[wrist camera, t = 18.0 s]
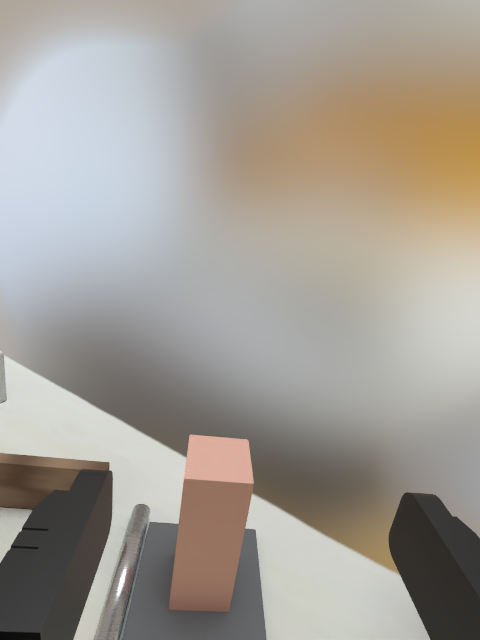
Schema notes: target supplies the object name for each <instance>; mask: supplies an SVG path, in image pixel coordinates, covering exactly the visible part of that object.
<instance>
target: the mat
mask: <svg viewBox="0 0 480 640" xmlns="http://www.w3.org/2000/svg"><path fill="white" fill-rule="evenodd" d="M178 526H179V524H171V523H157V522H150V523H149V528H148V532H147V536H146V540H145V545H144V549H143V553H142V557H141V562H140V566H139V570H138V575H137V579H136V583H135V587H134V592H133V596H132V600H131V604H130V609H129V613H128V617H127V621H126V626H125V630H124V634H123V638H122V640H266V631H265V621H264V611H263V601H262V591H261V581H260V571H259V561H258V551H257V541H256V530H254V529H245V531H244V537H243V542H242V547H241V552H240V557H239V563H238V568H237V573H236V578H235V583H234V588H233V594H232V599H231V604H230V609H229V612H213V611H186V610H169V602H170V594H171V585H172V577H173V569H174V560H175V552H176V543H177V535H178Z"/></svg>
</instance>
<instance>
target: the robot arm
mask: <svg viewBox="0 0 480 640" xmlns="http://www.w3.org/2000/svg"><path fill="white" fill-rule="evenodd" d="M112 482H113V475H112V471H107V470H92V469H81V470H80V472H79V473H78V475H77V477H76V478H75V480H74V482H73V484H72V486H71V488H70V490H69V491H67V490H54V491H53V492H51V493H50V494H49V495H48V496H47V497H46V498H45V499H43V500H42V501H41V502H40V503H39V504H38V505H37V506H35V508H34V509H33V511H32V513H31V514H30V516H29V518H28V519H27V521H26V522H25V524H24V526H23V527H22V531H21V532H19V534H18V535H17V537H16V539H15V540H14V542H13V544H12V545H11V549H10V551H9V550H8V552H7V553H6V555H5V557H4V558H3V560H2V561H1V563H0V640H73V638H74V636H75V633H76V630H77V627H78V624H79V621H80V618H81V615H82V612H83V609H84V606H85V604H86V601H87V598H88V595H89V592H90V589H91V586H92V583H93V580H94V577H95V574H96V571H97V569H98V566H99V563H100V560H101V557H102V554H103V551H104V548H105V545H106V542H107V539H108V535H109V531H110V526H111V520H112ZM389 548H390V552H391V555H392V558H393V560H394V563H395V565H396V567H397V569H398V571H399V573H400V575H401V577H402V580H403V582H404V584H405V586H406V588H407V590H408V592H409V594H410V597H411V599H412V601H413V603H414V605H415V607H416V609H417V611H418V614H419V616H420V618H421V620H422V622H423V624H424V626H425V629H426V631H427V633H428V635H429V637H430V639H431V640H480V539H479V537H478V536H477V535H476V534H475V533H474V532H473V531H472V530H471V529H470V528H469V527H467V526H466V525H465V524H464V523H463V522H462V521H461V520H459V519H458V518H457V517H453V516H452V515H451V514H450V513H449V511H448V510H447V509H446V507H445V506H444V504H443V503H442V501H441V500H440V499H439V498H438V497H437V496H436V495H433V494H422V493H405V494H404V495H403V496H402V498H401V501H400V504H399V507H398V509H397V512H396V515H395V518H394V521H393V524H392V526H391V529H390V532H389Z"/></svg>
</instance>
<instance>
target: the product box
mask: <svg viewBox="0 0 480 640" xmlns="http://www.w3.org/2000/svg"><path fill="white" fill-rule="evenodd" d="M6 399H7V398H6V383H5V369H4V353H3V352H1V351H0V403H1V402H3V401H6Z"/></svg>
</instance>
